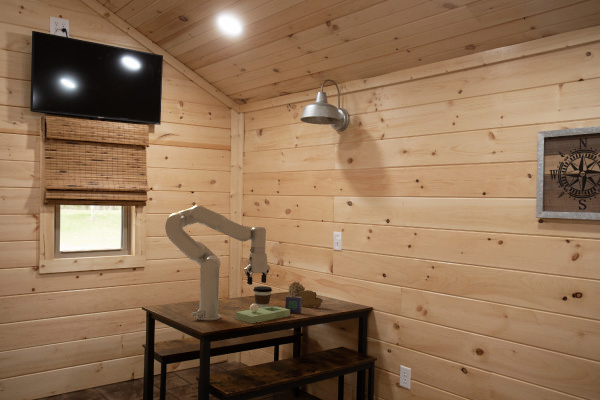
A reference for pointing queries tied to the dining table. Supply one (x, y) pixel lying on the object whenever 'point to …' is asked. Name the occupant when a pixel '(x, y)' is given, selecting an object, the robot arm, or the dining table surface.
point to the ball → (254, 308)
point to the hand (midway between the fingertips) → (256, 283)
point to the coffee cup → (262, 295)
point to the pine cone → (296, 288)
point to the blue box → (293, 304)
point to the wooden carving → (310, 299)
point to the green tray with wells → (262, 314)
